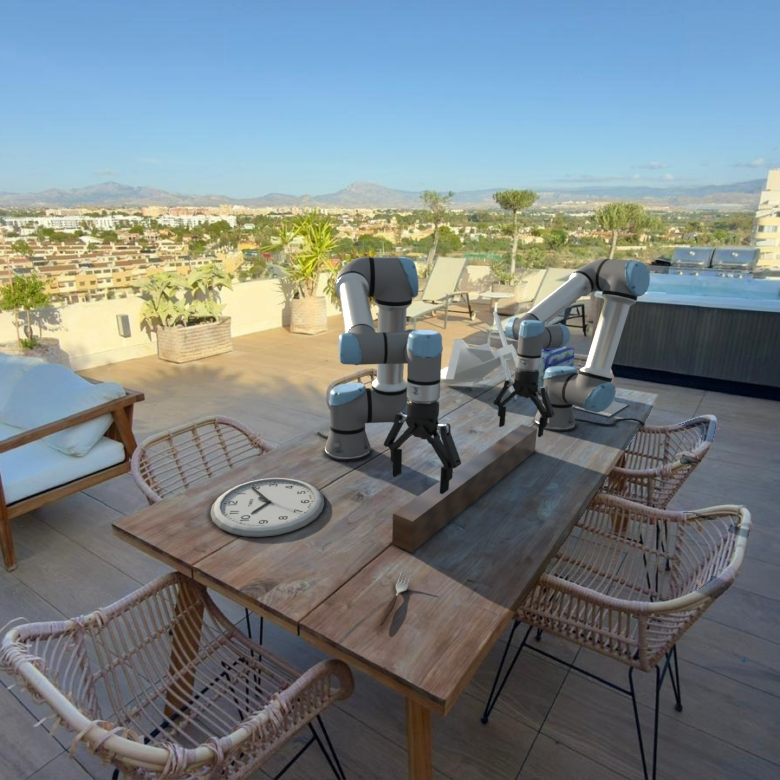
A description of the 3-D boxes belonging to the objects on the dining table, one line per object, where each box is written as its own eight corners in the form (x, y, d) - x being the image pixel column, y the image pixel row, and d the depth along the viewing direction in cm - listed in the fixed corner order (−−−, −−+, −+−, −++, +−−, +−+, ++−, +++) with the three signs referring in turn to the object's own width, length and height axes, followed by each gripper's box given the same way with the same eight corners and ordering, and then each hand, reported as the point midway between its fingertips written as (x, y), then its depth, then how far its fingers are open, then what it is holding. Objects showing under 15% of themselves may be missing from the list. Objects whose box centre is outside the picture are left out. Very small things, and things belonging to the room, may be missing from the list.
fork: (373, 626, 100) (374, 617, 99) (401, 576, 114) (401, 568, 113) (386, 630, 99) (386, 621, 98) (412, 579, 113) (412, 571, 112)
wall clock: (322, 529, 128) (196, 532, 126) (322, 534, 129) (197, 538, 126) (326, 473, 157) (223, 476, 154) (326, 478, 157) (224, 481, 155)
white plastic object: (461, 429, 252) (437, 405, 227) (444, 352, 274) (420, 323, 250) (535, 404, 240) (518, 377, 215) (510, 326, 262) (492, 293, 237)
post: (519, 446, 183) (521, 424, 181) (534, 450, 180) (537, 428, 178) (392, 543, 126) (392, 513, 123) (411, 552, 123) (412, 521, 120)
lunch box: (546, 398, 236) (551, 353, 229) (525, 393, 243) (529, 349, 237) (573, 387, 253) (579, 344, 247) (553, 382, 260) (558, 341, 254)
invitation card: (608, 416, 214) (573, 407, 224) (608, 416, 214) (573, 408, 224) (628, 404, 229) (594, 396, 238) (628, 405, 229) (594, 397, 238)
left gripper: (370, 392, 123) (369, 473, 129) (463, 415, 109) (457, 505, 115) (389, 385, 129) (387, 463, 135) (479, 406, 115) (473, 492, 121)
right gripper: (486, 364, 172) (481, 424, 178) (561, 378, 158) (553, 443, 164) (496, 360, 177) (491, 419, 184) (570, 373, 163) (561, 436, 169)
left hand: (419, 483), depth 125 cm, fingers open, 13 cm apart
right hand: (520, 430), depth 174 cm, fingers open, 13 cm apart
